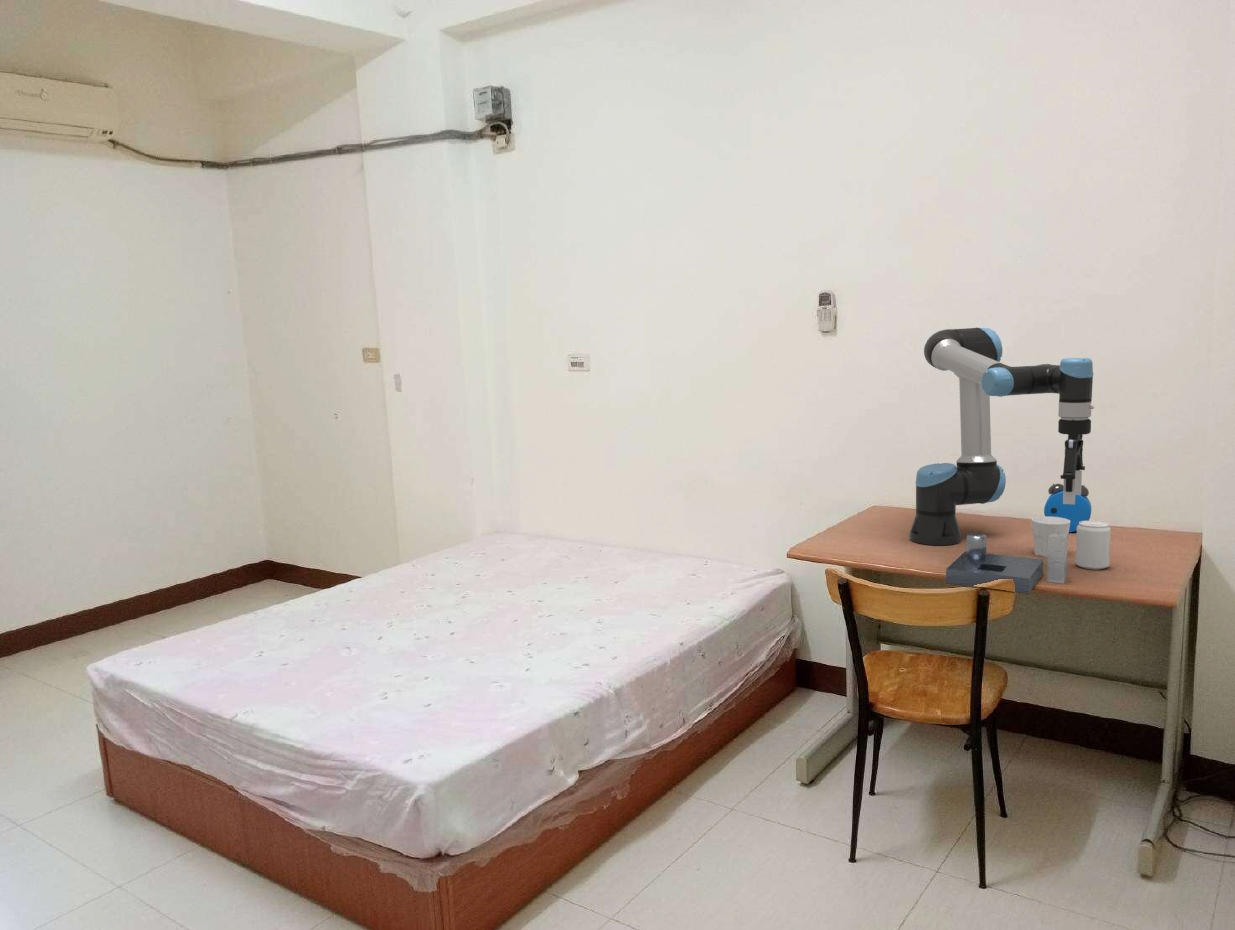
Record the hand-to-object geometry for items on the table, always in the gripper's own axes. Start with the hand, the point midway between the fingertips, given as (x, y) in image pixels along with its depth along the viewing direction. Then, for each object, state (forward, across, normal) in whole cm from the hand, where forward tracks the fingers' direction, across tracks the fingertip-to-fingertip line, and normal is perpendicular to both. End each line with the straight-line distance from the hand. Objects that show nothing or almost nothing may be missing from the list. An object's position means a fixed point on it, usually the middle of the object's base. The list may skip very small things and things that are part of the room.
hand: (1072, 499), depth 236 cm
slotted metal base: (+20, -11, +16) cm, 29 cm away
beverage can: (+20, +11, -4) cm, 24 cm away
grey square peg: (+20, -7, +2) cm, 22 cm away
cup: (+20, +20, +8) cm, 30 cm away
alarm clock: (+20, +51, +7) cm, 56 cm away
